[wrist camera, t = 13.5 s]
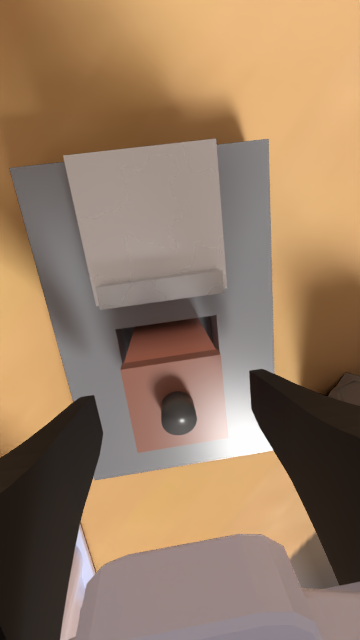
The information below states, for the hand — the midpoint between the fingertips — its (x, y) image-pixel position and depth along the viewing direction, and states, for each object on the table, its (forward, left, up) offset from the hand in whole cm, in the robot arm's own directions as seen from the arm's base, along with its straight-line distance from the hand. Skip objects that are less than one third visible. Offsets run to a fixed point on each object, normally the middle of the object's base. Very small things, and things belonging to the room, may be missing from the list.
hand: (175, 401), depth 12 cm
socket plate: (+2, 0, -6) cm, 6 cm away
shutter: (+8, 0, -3) cm, 8 cm away
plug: (0, 0, -5) cm, 5 cm away
